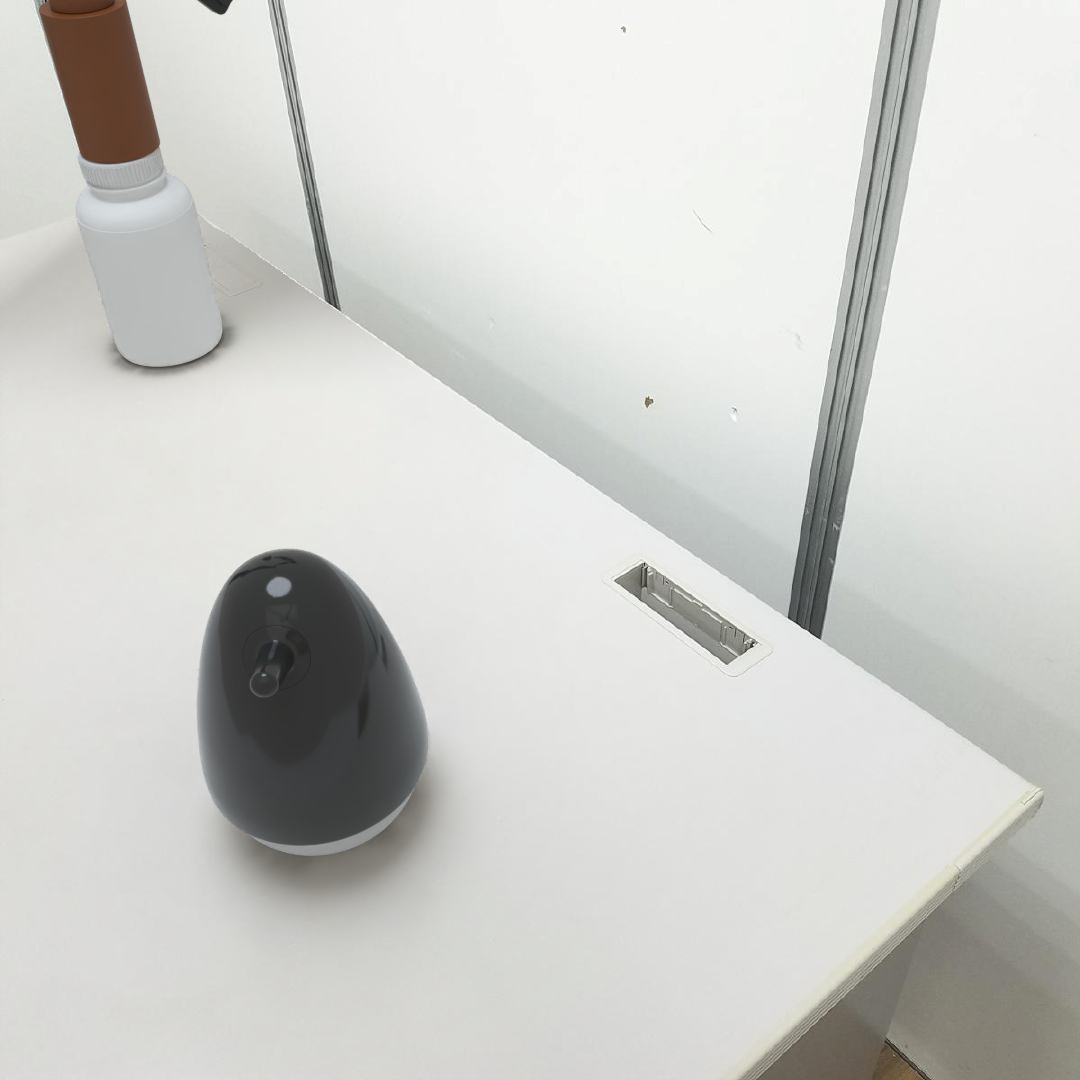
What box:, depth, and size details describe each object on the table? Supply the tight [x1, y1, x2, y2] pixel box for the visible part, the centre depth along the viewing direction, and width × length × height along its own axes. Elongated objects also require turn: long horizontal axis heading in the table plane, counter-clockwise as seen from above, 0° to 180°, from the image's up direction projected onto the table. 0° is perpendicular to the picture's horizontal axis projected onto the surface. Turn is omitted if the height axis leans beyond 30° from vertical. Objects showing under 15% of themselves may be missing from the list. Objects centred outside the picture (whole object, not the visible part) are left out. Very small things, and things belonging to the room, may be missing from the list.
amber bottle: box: [38, 0, 161, 163], centre depth 72 cm, size 5×5×12 cm
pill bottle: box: [75, 146, 223, 368], centre depth 81 cm, size 8×8×15 cm
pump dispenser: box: [196, 548, 430, 857], centre depth 50 cm, size 10×10×15 cm
